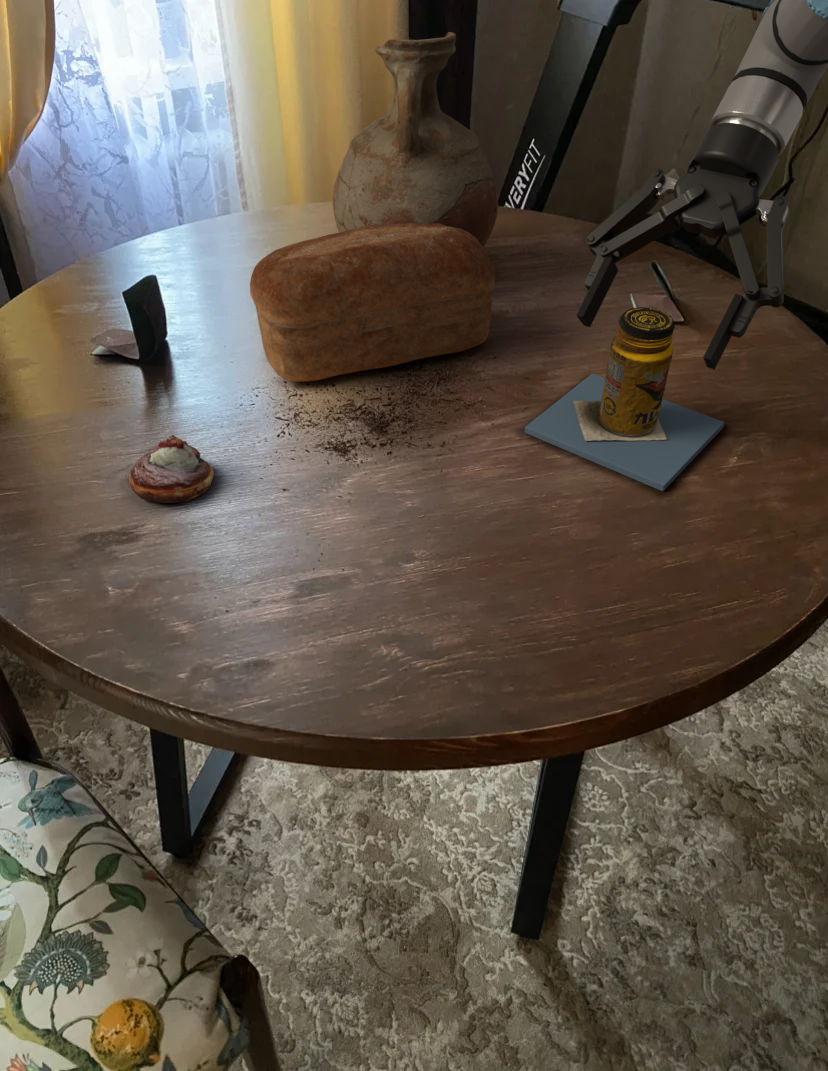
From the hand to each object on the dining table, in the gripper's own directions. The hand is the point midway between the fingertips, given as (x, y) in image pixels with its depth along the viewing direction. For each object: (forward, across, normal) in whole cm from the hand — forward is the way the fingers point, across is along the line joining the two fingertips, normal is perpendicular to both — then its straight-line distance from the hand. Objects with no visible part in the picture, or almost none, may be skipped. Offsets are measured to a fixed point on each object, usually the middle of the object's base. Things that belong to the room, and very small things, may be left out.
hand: (643, 342), depth 82 cm
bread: (+10, +32, -4) cm, 34 cm away
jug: (-3, +41, -18) cm, 44 cm away
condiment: (+7, +1, -6) cm, 10 cm away
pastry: (+33, +30, +18) cm, 48 cm away
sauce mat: (+8, 0, -7) cm, 10 cm away
